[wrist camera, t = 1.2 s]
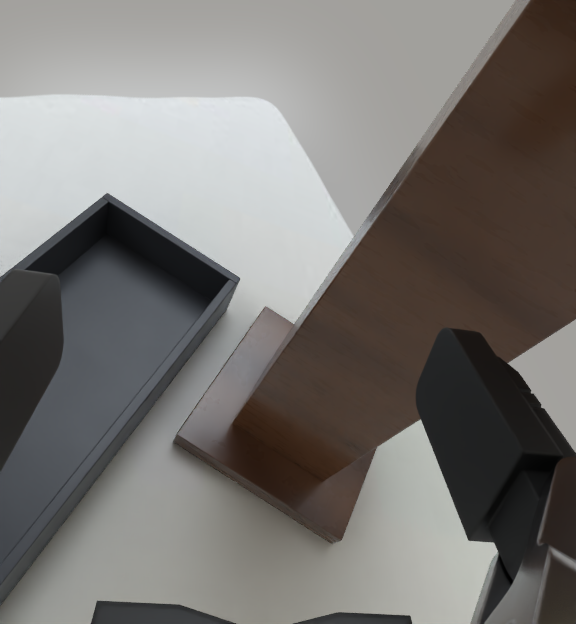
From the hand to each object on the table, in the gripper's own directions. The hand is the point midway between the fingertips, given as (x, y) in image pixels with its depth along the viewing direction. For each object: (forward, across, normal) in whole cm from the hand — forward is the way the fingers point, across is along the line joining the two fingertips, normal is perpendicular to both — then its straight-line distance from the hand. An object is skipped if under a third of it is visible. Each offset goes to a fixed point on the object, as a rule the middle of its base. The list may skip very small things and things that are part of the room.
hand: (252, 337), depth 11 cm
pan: (+15, +10, +16) cm, 25 cm away
